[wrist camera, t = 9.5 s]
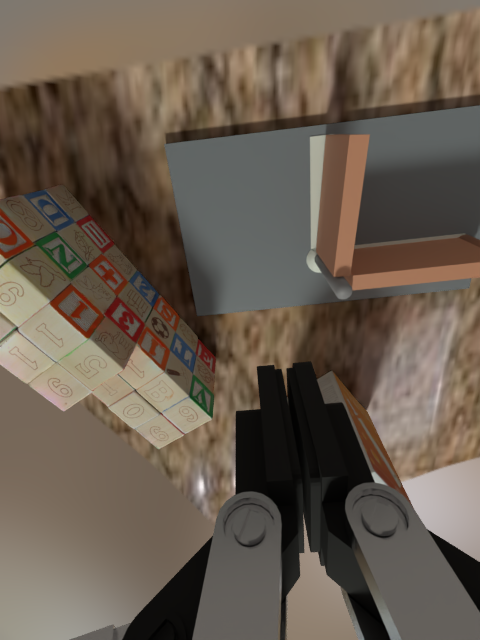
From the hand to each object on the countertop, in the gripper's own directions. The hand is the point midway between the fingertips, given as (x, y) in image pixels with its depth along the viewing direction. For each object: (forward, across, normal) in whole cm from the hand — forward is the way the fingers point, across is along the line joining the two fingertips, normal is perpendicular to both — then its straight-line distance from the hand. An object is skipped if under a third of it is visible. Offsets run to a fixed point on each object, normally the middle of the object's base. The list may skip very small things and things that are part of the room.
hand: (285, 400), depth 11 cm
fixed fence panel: (+21, -13, +3) cm, 25 cm away
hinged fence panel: (+21, -6, -2) cm, 22 cm away
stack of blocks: (+22, +13, +5) cm, 26 cm away
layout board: (+22, -7, 0) cm, 23 cm away
